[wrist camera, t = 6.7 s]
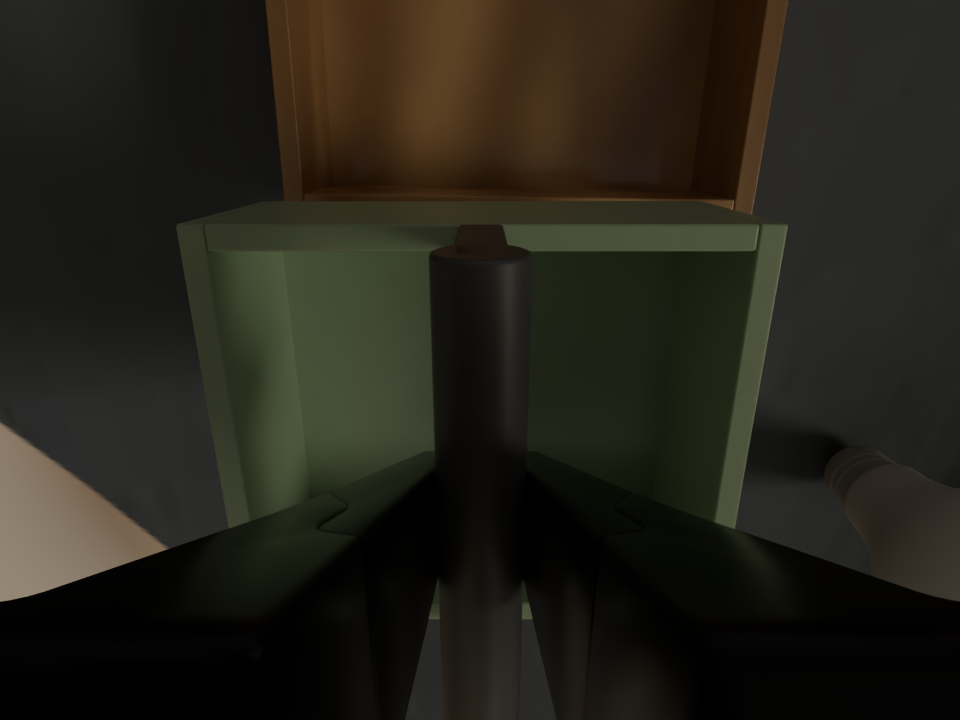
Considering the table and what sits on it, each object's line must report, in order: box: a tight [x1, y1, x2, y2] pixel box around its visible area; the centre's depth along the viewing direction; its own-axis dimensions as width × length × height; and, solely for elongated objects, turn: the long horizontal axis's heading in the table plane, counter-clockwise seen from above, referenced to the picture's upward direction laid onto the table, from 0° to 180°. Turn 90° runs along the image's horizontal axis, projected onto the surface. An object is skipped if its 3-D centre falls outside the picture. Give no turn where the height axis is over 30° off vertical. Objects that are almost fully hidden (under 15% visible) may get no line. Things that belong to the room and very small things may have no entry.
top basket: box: [176, 201, 788, 720], centre depth 13 cm, size 11×9×8 cm
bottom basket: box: [265, 0, 788, 215], centre depth 18 cm, size 14×12×4 cm
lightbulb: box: [824, 446, 960, 601], centre depth 21 cm, size 6×6×11 cm
